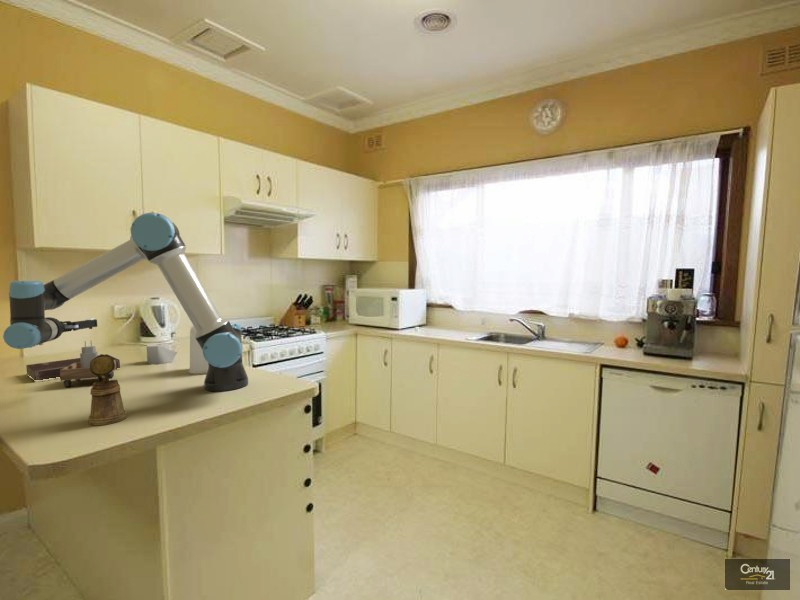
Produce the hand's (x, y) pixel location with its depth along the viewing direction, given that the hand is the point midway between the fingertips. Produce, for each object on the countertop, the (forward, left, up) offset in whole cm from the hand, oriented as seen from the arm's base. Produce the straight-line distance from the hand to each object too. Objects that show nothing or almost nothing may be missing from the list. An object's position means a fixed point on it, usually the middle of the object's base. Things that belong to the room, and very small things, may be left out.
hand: (71, 323), depth 150 cm
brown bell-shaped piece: (-40, -21, -25) cm, 52 cm away
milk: (+15, -44, -25) cm, 52 cm away
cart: (+12, -1, -25) cm, 27 cm away
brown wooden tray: (+36, +12, -25) cm, 45 cm away
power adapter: (+12, -1, -20) cm, 23 cm away
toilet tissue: (+43, -20, -25) cm, 53 cm away
